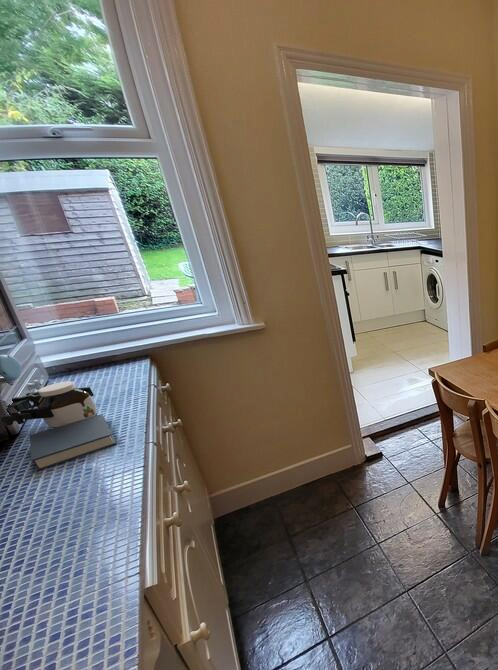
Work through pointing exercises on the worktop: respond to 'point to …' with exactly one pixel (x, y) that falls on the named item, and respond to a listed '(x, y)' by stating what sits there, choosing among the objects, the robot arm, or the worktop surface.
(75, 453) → the book
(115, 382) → the worktop surface
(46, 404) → the spread jar
